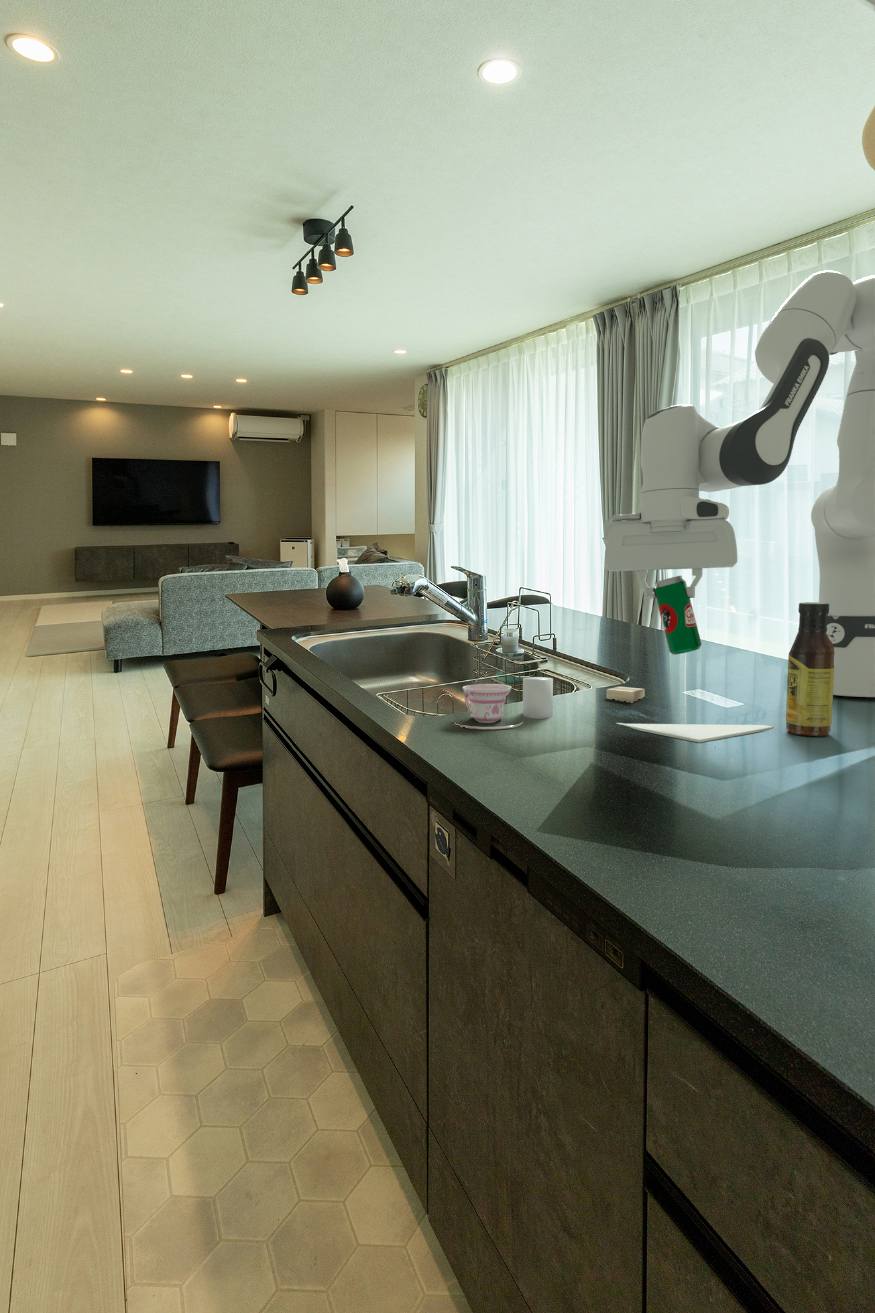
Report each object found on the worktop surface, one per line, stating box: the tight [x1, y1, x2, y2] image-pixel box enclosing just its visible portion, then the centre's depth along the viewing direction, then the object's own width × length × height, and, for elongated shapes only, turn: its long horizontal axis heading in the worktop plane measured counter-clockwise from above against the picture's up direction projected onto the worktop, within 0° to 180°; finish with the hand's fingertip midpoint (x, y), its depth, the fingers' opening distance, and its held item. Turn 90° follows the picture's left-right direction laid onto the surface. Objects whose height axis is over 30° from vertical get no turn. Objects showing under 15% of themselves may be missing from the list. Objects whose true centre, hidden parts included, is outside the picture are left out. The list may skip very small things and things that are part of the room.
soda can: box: [653, 575, 703, 656], centre depth 118 cm, size 5×5×12 cm
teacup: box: [455, 683, 524, 731], centre depth 121 cm, size 12×12×6 cm
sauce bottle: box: [785, 601, 834, 737], centre depth 111 cm, size 7×6×20 cm
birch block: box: [606, 686, 646, 704], centre depth 134 cm, size 5×5×4 cm
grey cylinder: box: [522, 676, 554, 720], centre depth 124 cm, size 5×5×7 cm
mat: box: [616, 722, 774, 743], centre depth 118 cm, size 18×18×1 cm
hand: (669, 598), depth 118 cm, fingers closed on soda can, 5 cm apart
